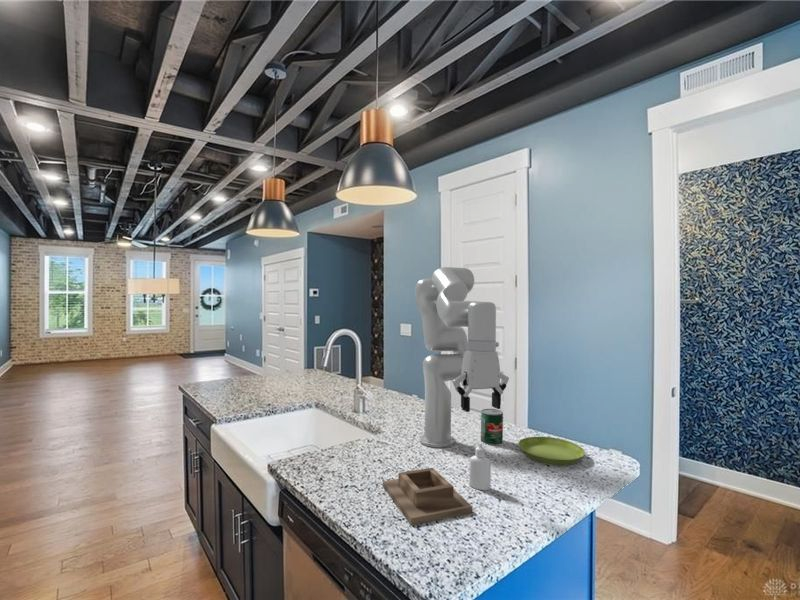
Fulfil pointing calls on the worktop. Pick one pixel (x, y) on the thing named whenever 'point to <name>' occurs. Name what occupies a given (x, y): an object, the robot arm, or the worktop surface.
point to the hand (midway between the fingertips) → (481, 409)
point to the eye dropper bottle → (480, 470)
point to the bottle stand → (425, 496)
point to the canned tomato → (492, 426)
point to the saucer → (551, 450)
